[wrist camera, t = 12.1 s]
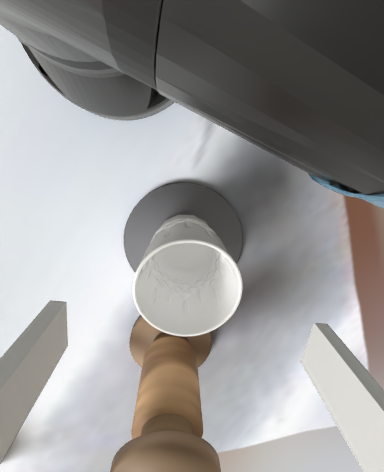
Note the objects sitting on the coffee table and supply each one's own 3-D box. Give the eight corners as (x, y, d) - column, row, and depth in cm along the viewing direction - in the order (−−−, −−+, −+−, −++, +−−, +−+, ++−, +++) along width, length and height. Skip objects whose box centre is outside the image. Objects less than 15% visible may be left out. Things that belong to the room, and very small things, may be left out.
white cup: (148, 275, 28) (134, 337, 19) (147, 207, 26) (130, 238, 16) (217, 276, 29) (237, 336, 19) (223, 209, 26) (248, 240, 17)
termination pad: (128, 175, 25) (126, 175, 25) (251, 191, 26) (253, 191, 26) (122, 287, 29) (121, 290, 29) (229, 297, 30) (230, 299, 30)
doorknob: (134, 299, 30) (92, 436, 15) (215, 306, 31) (249, 442, 16) (129, 364, 33) (91, 530, 18) (203, 369, 34) (223, 529, 19)
